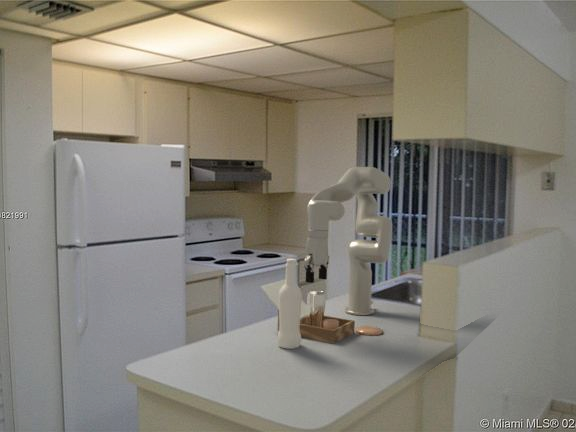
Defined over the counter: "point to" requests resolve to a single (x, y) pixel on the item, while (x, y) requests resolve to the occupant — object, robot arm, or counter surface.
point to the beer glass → (316, 308)
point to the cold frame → (327, 330)
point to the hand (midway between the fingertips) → (316, 280)
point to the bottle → (290, 309)
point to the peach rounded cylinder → (330, 324)
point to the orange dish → (369, 330)
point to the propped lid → (273, 295)
